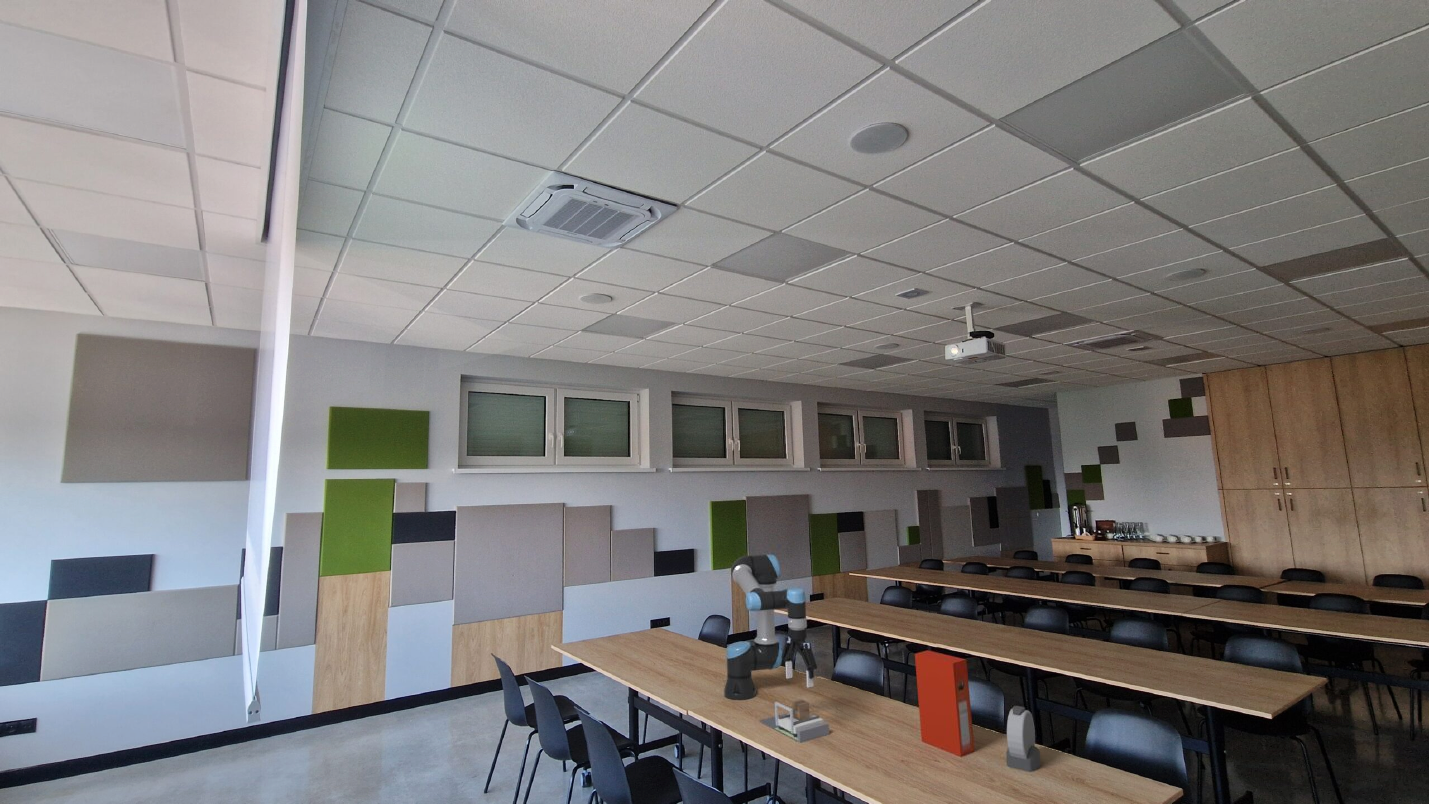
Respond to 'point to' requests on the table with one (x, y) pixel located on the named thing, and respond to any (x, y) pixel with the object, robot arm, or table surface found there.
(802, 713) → the block
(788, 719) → the white tray
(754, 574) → the robot arm
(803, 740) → the grey holder base
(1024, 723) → the grey two-tone upright device
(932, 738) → the file binder
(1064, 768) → the table surface
